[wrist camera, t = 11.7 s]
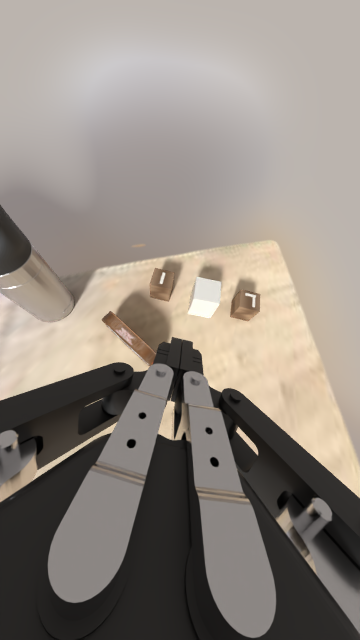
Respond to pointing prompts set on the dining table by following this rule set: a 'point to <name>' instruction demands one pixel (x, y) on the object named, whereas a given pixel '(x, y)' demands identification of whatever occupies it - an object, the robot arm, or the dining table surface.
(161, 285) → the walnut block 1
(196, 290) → the plain block
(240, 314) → the walnut block
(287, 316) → the dining table surface
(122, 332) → the tin
